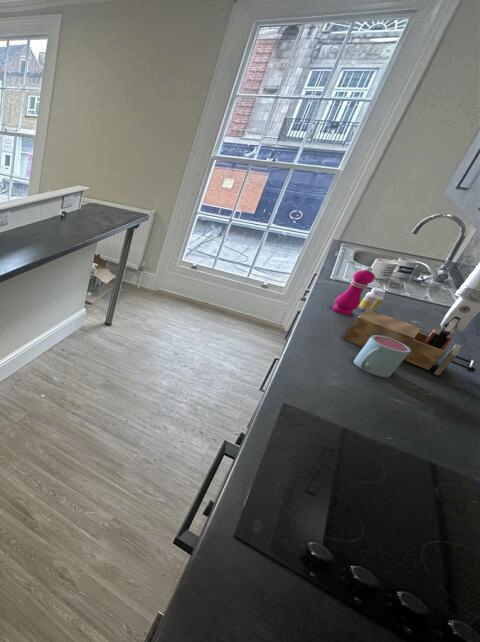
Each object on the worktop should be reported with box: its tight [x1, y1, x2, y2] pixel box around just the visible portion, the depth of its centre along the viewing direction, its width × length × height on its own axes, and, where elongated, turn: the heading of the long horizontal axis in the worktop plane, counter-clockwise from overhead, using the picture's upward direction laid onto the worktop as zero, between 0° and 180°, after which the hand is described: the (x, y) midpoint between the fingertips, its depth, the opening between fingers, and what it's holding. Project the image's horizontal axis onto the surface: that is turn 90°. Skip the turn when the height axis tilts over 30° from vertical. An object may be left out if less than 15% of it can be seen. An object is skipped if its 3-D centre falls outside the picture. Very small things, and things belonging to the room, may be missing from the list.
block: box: [424, 328, 454, 350], centre depth 128 cm, size 4×4×4 cm
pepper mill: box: [331, 266, 376, 316], centre depth 158 cm, size 7×7×20 cm
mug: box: [353, 335, 411, 378], centre depth 124 cm, size 14×9×10 cm
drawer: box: [403, 331, 479, 377], centre depth 130 cm, size 19×11×8 cm, turn 36°
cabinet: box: [343, 309, 422, 348], centre depth 139 cm, size 15×13×10 cm
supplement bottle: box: [358, 287, 387, 312], centre depth 164 cm, size 5×5×10 cm
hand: (435, 343), depth 129 cm, fingers closed on block, 4 cm apart
